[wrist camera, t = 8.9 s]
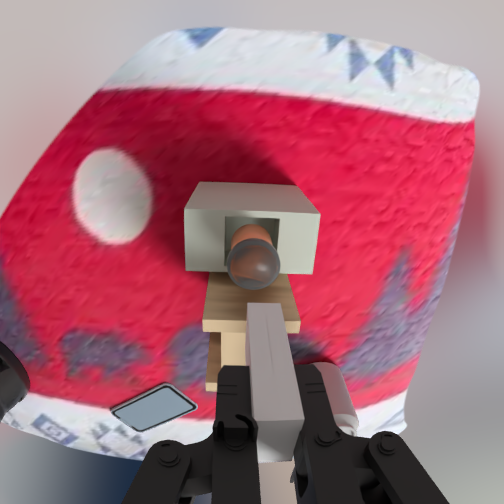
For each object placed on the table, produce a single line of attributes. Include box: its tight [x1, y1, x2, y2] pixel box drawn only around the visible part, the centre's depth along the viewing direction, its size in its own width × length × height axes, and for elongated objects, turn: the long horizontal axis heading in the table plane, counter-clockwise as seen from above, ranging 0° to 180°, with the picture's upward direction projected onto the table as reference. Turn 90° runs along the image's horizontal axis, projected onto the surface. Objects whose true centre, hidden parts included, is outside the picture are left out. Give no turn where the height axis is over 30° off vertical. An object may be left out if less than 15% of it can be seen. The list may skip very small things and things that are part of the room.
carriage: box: [203, 272, 301, 391], centre depth 29 cm, size 7×7×14 cm
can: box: [311, 362, 359, 436], centre depth 38 cm, size 8×8×12 cm
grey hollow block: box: [184, 182, 320, 274], centre depth 29 cm, size 10×5×10 cm, turn 87°
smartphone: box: [111, 383, 198, 432], centre depth 46 cm, size 7×1×15 cm
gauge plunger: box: [227, 224, 280, 290], centre depth 22 cm, size 3×3×4 cm
